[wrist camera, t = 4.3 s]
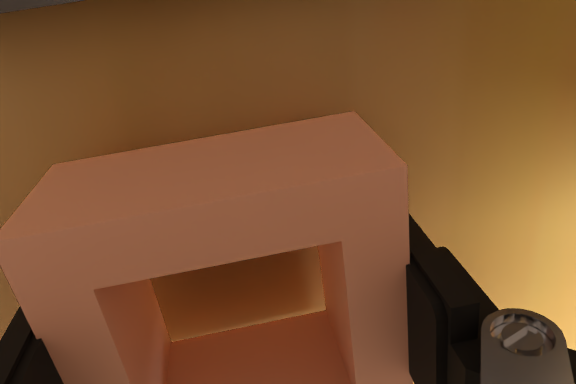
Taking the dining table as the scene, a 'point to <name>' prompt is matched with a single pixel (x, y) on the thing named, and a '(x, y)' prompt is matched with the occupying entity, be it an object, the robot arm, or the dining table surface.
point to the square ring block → (218, 255)
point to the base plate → (28, 4)
